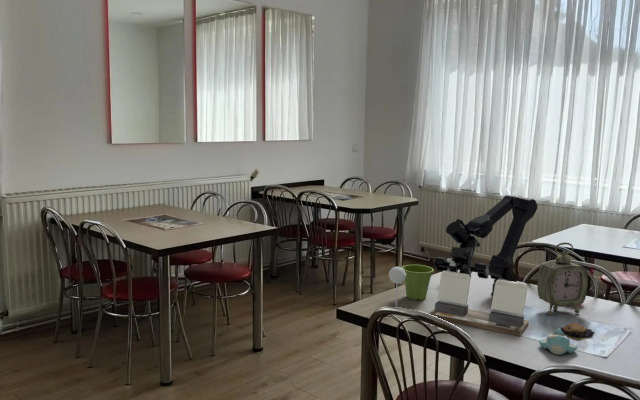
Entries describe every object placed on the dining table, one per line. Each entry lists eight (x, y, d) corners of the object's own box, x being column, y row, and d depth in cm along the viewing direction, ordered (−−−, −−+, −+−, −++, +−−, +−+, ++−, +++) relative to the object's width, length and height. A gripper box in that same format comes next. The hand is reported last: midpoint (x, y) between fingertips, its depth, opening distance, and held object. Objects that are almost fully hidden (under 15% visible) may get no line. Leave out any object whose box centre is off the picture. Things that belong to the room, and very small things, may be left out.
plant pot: (429, 304, 210) (430, 274, 209) (397, 300, 214) (398, 270, 213) (434, 294, 221) (436, 266, 220) (404, 291, 225) (405, 263, 224)
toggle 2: (492, 309, 192) (497, 279, 194) (523, 315, 186) (528, 284, 189) (490, 308, 190) (495, 278, 192) (522, 314, 185) (527, 283, 187)
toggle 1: (438, 299, 201) (443, 270, 202) (467, 304, 196) (471, 275, 197) (436, 299, 199) (441, 269, 201) (465, 304, 194) (469, 274, 195)
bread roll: (578, 343, 178) (579, 331, 177) (554, 334, 185) (555, 323, 184) (598, 336, 183) (599, 325, 183) (574, 327, 190) (575, 317, 190)
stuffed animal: (579, 327, 174) (579, 333, 163) (577, 351, 174) (577, 359, 163) (540, 322, 178) (538, 327, 167) (539, 345, 178) (536, 352, 167)
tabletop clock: (547, 317, 198) (553, 245, 195) (532, 308, 207) (537, 240, 203) (585, 315, 201) (591, 244, 198) (568, 306, 210) (574, 239, 206)
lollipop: (406, 306, 207) (408, 266, 205) (402, 311, 202) (403, 269, 199) (390, 304, 209) (391, 263, 207) (385, 309, 204) (386, 267, 202)
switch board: (440, 308, 206) (441, 296, 206) (528, 324, 191) (529, 312, 190) (428, 317, 196) (429, 305, 195) (520, 336, 181) (520, 323, 180)
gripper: (436, 234, 206) (423, 271, 198) (488, 241, 196) (477, 280, 189) (442, 251, 214) (430, 288, 206) (493, 259, 204) (482, 297, 196)
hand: (454, 288), depth 199 cm, fingers closed, pressing on toggle 1
